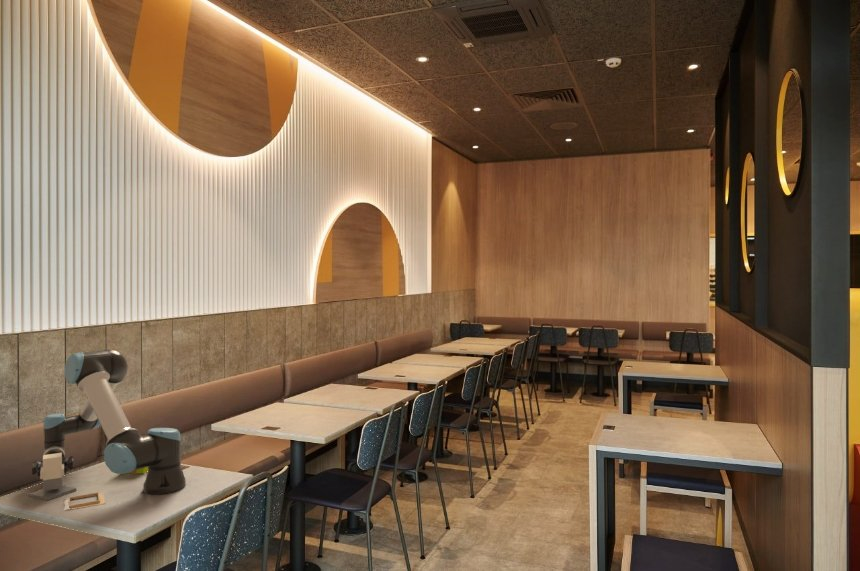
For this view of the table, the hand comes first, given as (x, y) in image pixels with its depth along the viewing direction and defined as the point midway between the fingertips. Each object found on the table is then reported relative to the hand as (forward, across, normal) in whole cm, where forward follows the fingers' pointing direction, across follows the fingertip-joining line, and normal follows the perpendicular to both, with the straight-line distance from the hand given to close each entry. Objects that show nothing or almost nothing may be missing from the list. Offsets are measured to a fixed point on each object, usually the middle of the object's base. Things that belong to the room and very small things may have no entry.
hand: (52, 473), depth 220 cm
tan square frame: (+11, -10, -9) cm, 17 cm away
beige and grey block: (-5, 0, -6) cm, 8 cm away
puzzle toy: (-18, -31, -9) cm, 37 cm away
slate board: (-5, 0, -9) cm, 10 cm away
